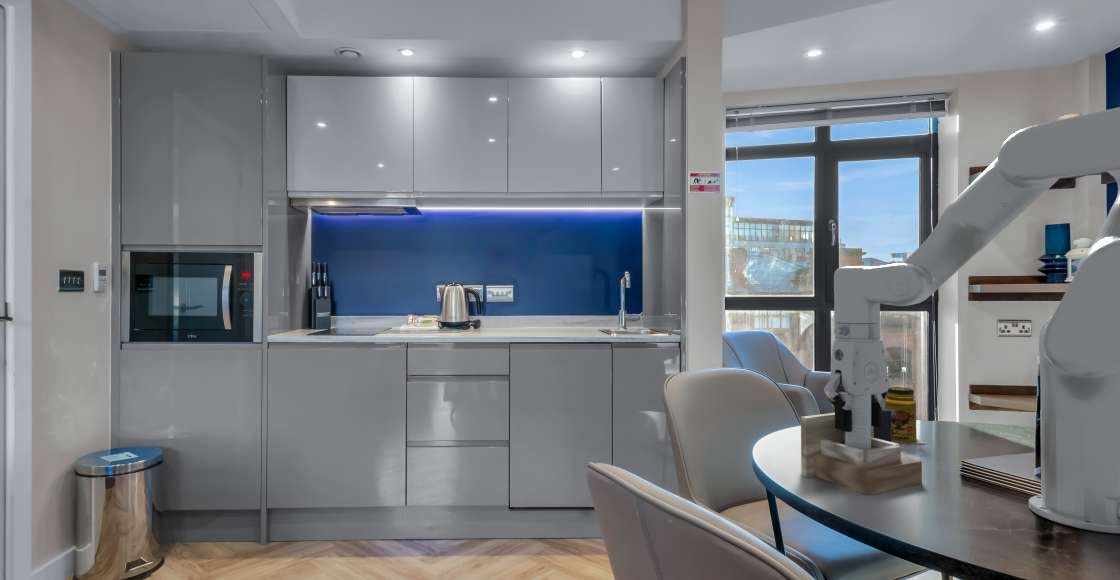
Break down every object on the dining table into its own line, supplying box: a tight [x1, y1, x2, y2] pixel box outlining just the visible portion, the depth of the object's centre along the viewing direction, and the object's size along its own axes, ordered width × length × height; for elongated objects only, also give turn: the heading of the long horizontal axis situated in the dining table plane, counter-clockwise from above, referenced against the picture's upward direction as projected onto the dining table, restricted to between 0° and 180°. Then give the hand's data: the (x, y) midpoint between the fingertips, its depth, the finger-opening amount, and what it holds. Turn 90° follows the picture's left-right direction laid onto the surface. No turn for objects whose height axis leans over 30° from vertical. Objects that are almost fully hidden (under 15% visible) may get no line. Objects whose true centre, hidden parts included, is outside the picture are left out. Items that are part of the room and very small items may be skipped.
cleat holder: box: [800, 412, 923, 496], centre depth 105 cm, size 14×18×11 cm
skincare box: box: [845, 389, 871, 450], centre depth 105 cm, size 6×4×12 cm
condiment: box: [884, 386, 927, 445], centre depth 132 cm, size 7×8×12 cm
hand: (858, 427), depth 105 cm, fingers closed on skincare box, 7 cm apart
